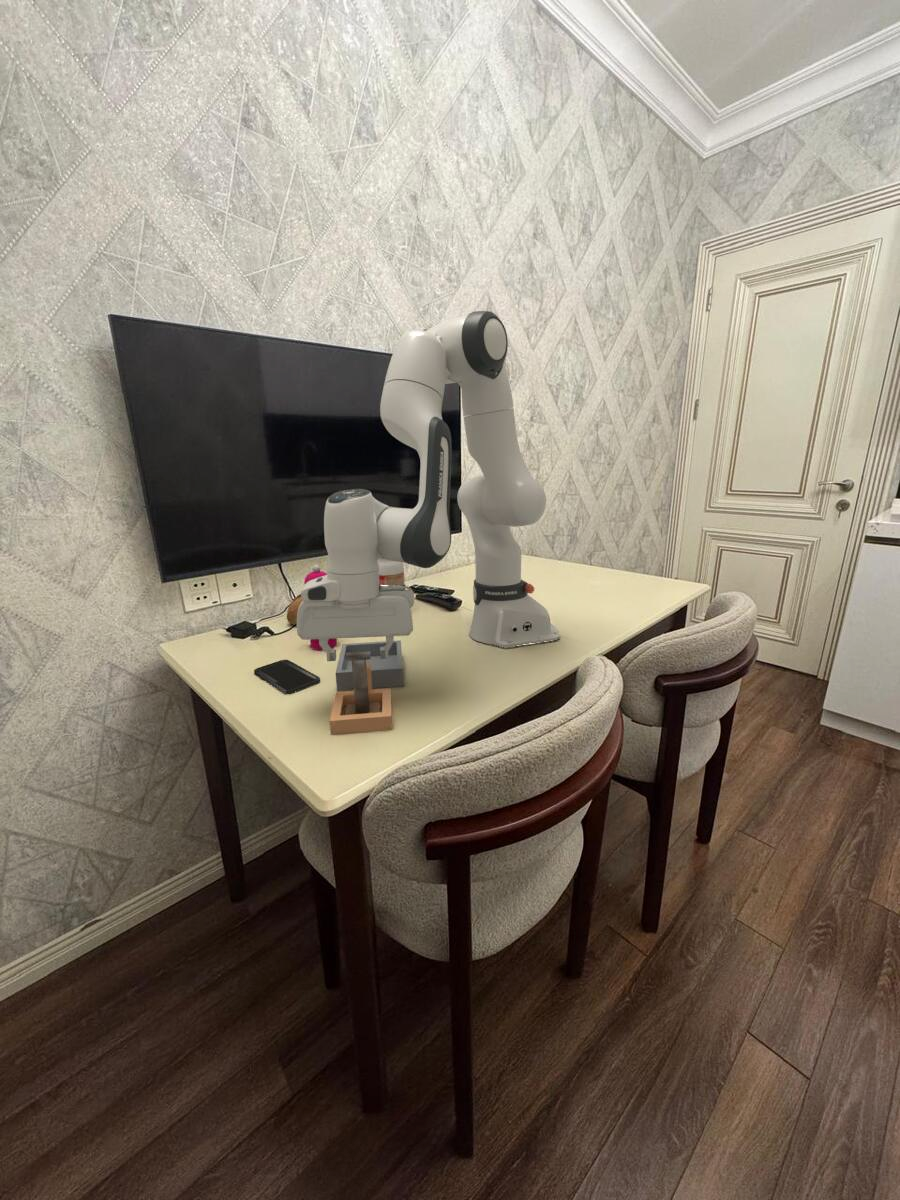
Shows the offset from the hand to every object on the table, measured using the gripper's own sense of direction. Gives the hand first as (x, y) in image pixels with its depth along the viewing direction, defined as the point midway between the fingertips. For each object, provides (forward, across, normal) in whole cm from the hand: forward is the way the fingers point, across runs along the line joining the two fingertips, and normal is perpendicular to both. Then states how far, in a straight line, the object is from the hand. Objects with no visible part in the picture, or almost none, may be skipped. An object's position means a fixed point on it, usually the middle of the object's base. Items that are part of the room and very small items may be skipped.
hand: (358, 658), depth 87 cm
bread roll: (+9, +16, -49) cm, 52 cm away
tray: (+8, -2, -12) cm, 15 cm away
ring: (+8, -1, +5) cm, 10 cm away
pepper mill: (+9, +10, -29) cm, 32 cm away
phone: (+9, +16, -12) cm, 22 cm away
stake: (+8, -1, +6) cm, 10 cm away
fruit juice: (+8, -5, -53) cm, 54 cm away
